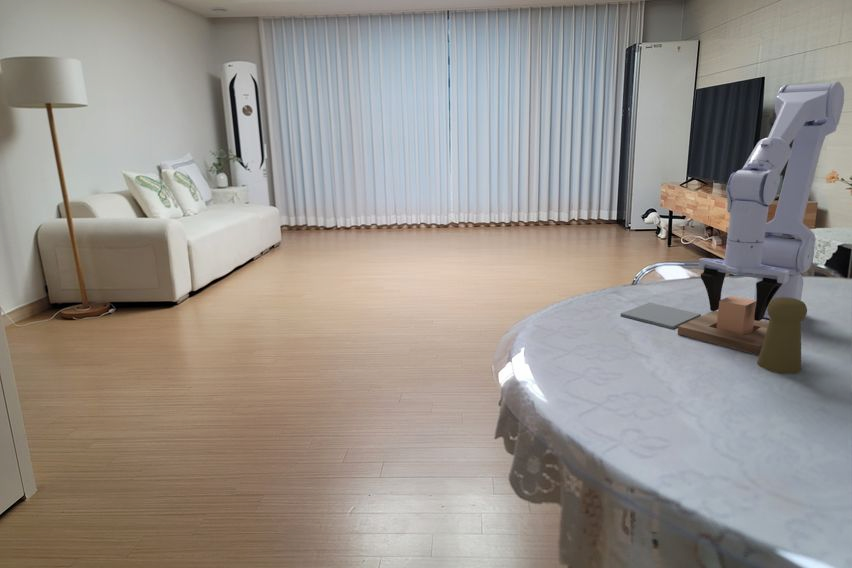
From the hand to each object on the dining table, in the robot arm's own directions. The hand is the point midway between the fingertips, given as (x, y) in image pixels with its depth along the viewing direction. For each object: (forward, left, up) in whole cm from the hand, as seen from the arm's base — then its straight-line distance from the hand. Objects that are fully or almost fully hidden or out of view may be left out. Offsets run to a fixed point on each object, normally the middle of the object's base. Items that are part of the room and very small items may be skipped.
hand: (736, 314), depth 106 cm
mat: (-1, -14, -4) cm, 15 cm away
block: (0, 0, -4) cm, 4 cm away
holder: (0, 0, -4) cm, 4 cm away
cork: (+9, +11, -4) cm, 15 cm away
